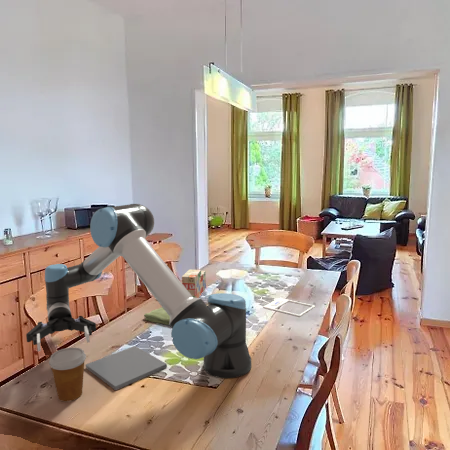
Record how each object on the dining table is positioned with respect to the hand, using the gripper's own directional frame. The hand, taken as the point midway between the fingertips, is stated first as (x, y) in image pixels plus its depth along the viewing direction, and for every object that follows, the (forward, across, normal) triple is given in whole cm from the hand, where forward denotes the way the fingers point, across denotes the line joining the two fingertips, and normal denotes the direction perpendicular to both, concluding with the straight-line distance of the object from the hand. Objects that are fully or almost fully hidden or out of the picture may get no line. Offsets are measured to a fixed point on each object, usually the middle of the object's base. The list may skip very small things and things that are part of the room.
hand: (64, 342), depth 120 cm
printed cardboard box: (-55, -62, -12) cm, 84 cm away
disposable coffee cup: (+10, 0, -11) cm, 15 cm away
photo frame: (-20, -94, -12) cm, 96 cm away
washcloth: (-31, -42, -12) cm, 54 cm away
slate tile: (+2, -18, -11) cm, 21 cm away
